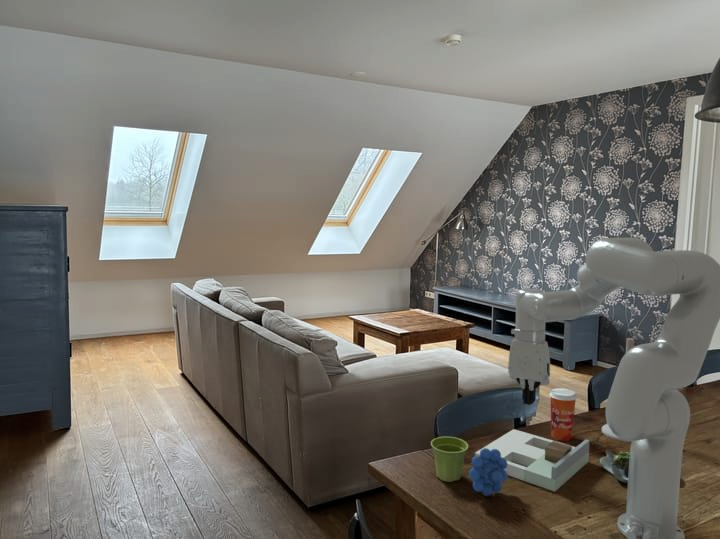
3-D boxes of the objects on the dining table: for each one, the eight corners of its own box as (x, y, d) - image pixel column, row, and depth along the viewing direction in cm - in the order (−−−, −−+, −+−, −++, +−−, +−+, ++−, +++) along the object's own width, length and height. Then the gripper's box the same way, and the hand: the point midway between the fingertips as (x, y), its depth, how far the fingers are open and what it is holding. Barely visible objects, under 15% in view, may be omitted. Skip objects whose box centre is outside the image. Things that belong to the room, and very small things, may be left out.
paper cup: (548, 441, 165) (550, 394, 163) (546, 431, 172) (548, 386, 170) (577, 443, 163) (579, 397, 161) (573, 433, 170) (575, 388, 169)
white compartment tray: (554, 491, 135) (555, 467, 134) (474, 463, 150) (475, 441, 149) (588, 461, 151) (589, 440, 151) (513, 438, 166) (514, 419, 165)
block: (563, 465, 142) (564, 452, 142) (544, 459, 146) (545, 446, 145) (571, 459, 146) (571, 446, 146) (552, 453, 149) (553, 440, 149)
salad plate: (580, 458, 154) (581, 441, 154) (638, 453, 158) (639, 437, 157) (625, 492, 135) (626, 474, 135) (690, 486, 139) (691, 468, 138)
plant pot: (468, 470, 146) (469, 438, 145) (465, 488, 137) (466, 454, 136) (433, 466, 148) (433, 434, 147) (427, 482, 139) (428, 449, 138)
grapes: (481, 510, 126) (483, 459, 125) (462, 497, 132) (463, 448, 131) (519, 497, 132) (521, 449, 131) (498, 485, 138) (500, 438, 137)
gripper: (497, 334, 150) (496, 400, 152) (551, 341, 140) (549, 413, 142) (510, 330, 156) (509, 394, 157) (563, 337, 146) (561, 405, 147)
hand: (528, 403), depth 149 cm, fingers closed
